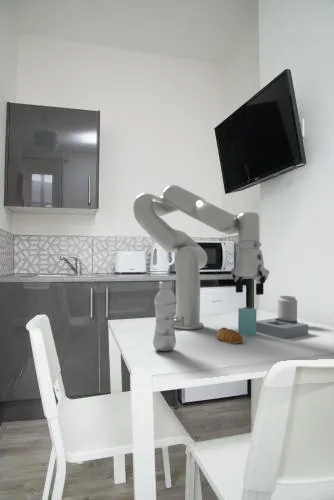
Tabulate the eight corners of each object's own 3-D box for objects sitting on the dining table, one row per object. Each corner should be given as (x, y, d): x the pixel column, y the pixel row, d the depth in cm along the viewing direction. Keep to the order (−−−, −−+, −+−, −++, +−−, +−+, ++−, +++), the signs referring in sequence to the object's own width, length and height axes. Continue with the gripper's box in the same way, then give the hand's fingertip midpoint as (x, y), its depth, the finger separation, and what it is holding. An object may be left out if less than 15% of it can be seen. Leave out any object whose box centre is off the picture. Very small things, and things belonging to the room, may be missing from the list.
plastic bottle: (152, 347, 98) (153, 280, 98) (174, 347, 98) (175, 281, 99) (153, 353, 91) (154, 282, 92) (177, 353, 92) (178, 282, 92)
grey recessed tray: (284, 338, 111) (284, 326, 111) (252, 330, 123) (252, 319, 123) (308, 334, 119) (308, 322, 119) (276, 326, 130) (276, 316, 131)
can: (293, 323, 138) (294, 295, 138) (299, 327, 130) (299, 297, 130) (275, 323, 138) (276, 294, 139) (280, 326, 131) (280, 296, 131)
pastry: (248, 343, 105) (248, 331, 105) (233, 346, 102) (233, 334, 102) (228, 337, 113) (228, 326, 113) (213, 339, 110) (213, 328, 110)
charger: (247, 335, 115) (247, 309, 115) (238, 332, 119) (238, 307, 119) (256, 334, 118) (256, 308, 118) (246, 331, 121) (247, 306, 122)
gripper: (275, 245, 114) (275, 294, 113) (238, 247, 128) (238, 291, 128) (260, 245, 110) (261, 296, 109) (224, 247, 124) (224, 292, 123)
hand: (249, 293), depth 118 cm, fingers open, 9 cm apart
